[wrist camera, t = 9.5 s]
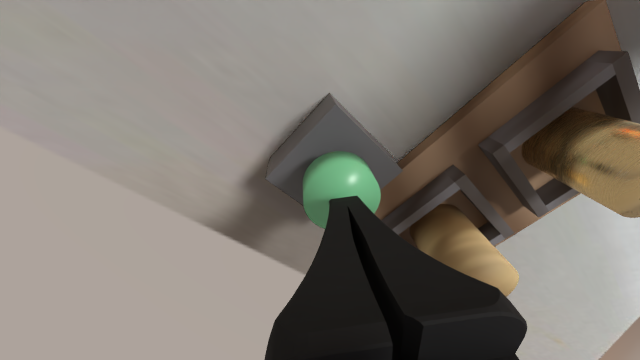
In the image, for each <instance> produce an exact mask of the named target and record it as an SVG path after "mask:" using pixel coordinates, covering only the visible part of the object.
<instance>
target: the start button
mask: <svg viewBox="0 0 640 360" xmlns="http://www.w3.org/2000/svg"><path fill="white" fill-rule="evenodd" d="M350 196H358V197H359V198H360V199H361V200H362V201H363V202H364V204H365V205H366V206H367V207H368V208H369V209H370V210H371V211H372V212H373V213H375V212H376V210H377V208H378V206H379V203H380V199H381V193H380V188H379V185H378V183H377V181H376V179H375V177H374V175H373V174H372V172H371V170H370V168H369V166H368V165H367V163H366V162H365V161H364V160H363V159H362V158H361V157H359V156H357V155H356V154H353V153H350V152H345V151H335V152H330V153H326V154H324V155H322V156H320V157H318V158H317V159H315V160H314V161H313V162H312V163H311V164H310V165H309V167H308V168H307V170H306V172H305V174H304V177H303V205H304V209H305V212H306V214H307V216H308V217H309V219H310V220H311V221H312V222H313V223H315V224H316V225H318V226H320V227H322V228H324V229H325V228H326V224H327V220H328V215H329V201H330V200H331V199H335V198H342V197H350Z"/></svg>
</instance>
